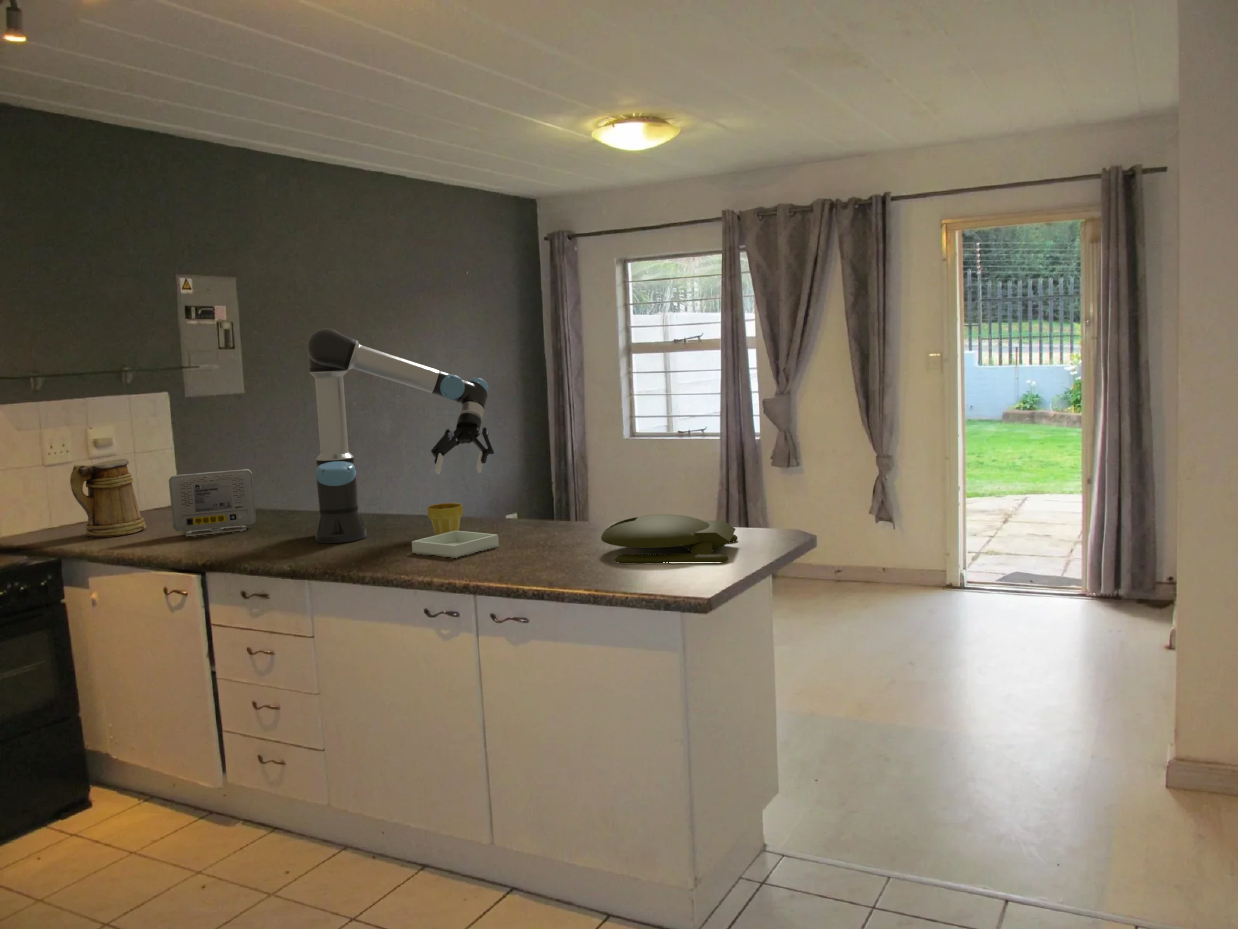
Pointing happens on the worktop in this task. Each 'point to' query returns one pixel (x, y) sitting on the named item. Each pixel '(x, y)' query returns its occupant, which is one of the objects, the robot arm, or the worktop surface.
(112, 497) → the tankard
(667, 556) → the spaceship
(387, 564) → the worktop surface
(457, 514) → the plant pot
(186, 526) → the network device
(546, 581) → the worktop surface
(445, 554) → the tray
